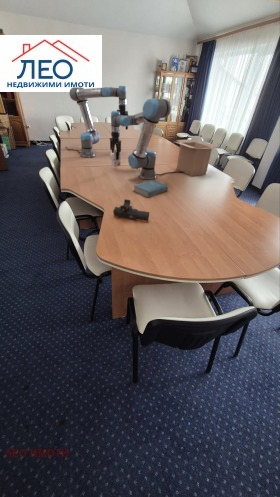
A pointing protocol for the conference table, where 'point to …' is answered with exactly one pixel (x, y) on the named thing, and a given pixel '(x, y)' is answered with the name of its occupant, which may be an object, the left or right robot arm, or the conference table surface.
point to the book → (150, 188)
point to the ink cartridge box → (113, 159)
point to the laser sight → (130, 212)
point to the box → (194, 157)
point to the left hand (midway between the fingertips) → (122, 128)
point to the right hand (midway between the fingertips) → (115, 158)
